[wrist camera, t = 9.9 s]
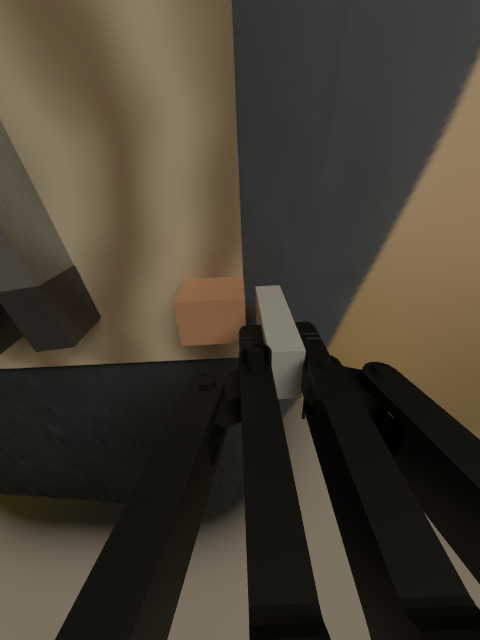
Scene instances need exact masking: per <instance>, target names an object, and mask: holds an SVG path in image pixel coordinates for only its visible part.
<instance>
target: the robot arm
mask: <svg viewBox="0 0 480 640" xmlns="http://www.w3.org/2000/svg"><path fill="white" fill-rule="evenodd" d="M301 390H302V393H303V396H304V402H303V411H302V419H305V415H306V418H307V421H308V425H309V428H310V432H311V435H312V438H313V442H314V445H315V448H316V452H317V456H318V459H319V462H320V465H321V469H322V473H323V476H324V479H325V483H326V486H327V489H328V493H329V496H330V500H331V503H332V507H333V510H334V513H335V517H336V520H337V524H338V527H339V531H340V534H341V537H342V541H343V544H344V547H345V551H346V554H347V558H348V561H349V565H350V568H351V571H352V575H353V577H354V582H355V585H356V589H357V592H358V595H359V598H360V602H361V605H362V609H363V612H364V615H365V619H366V623H367V626H368V629H369V633H370V637H371V640H480V609H479V608H478V607H477V606H476V605H475V603H474V601H473V600H472V599H471V597H470V595H469V593H468V591H467V590H466V588H465V586H464V584H463V582H462V580H461V579H460V577H459V575H458V573H457V572H456V570H455V568H454V566H453V564H452V563H451V561H450V559H449V557H448V555H447V554H446V552H445V550H444V548H443V546H442V545H441V543H440V541H439V539H438V537H437V536H436V534H435V532H434V530H433V528H432V527H431V525H430V523H429V521H428V520H427V517H428V518H429V519H430V520H431V522H432V523H433V524H434V526H435V527H436V528H437V530H438V531H439V532H440V533H441V535H442V536H443V537H444V539H445V540H446V541H447V543H448V544H449V545H450V546H451V548H452V549H453V550H454V552H455V553H456V554H457V555H458V557H459V558H460V559H461V561H462V562H463V563H464V565H465V566H466V567H467V568H468V570H469V571H470V572H471V574H472V575H473V576H474V577H475V579H476V580H477V581H478V582H479V584H480V439H478V438H477V437H476V436H475V435H473V434H472V433H471V432H470V431H469V430H468V429H466V428H465V427H464V426H463V425H461V424H460V423H459V422H458V421H457V420H456V419H454V418H453V417H452V416H451V415H450V414H448V413H447V412H446V411H445V410H444V409H443V408H441V407H440V406H439V405H438V404H436V403H435V402H434V401H433V400H432V399H430V398H429V397H428V396H427V395H426V394H424V393H423V392H422V391H421V390H420V389H419V388H417V387H416V386H415V385H414V384H413V383H411V382H410V381H409V380H408V379H407V378H405V377H404V376H403V375H402V374H401V373H400V372H398V371H397V370H396V369H394V368H393V367H391V366H390V365H387V364H384V363H380V362H369V363H367V364H365V365H364V367H363V370H359V369H354V368H349V367H344V366H342V364H341V363H340V361H339V360H338V359H337V358H335V357H333V356H331V355H329V353H328V351H327V349H326V347H325V345H324V343H323V341H322V340H321V339H320V336H319V334H318V332H317V330H316V328H315V326H313V325H312V324H311V323H309V322H294V320H293V318H292V315H291V313H290V310H289V308H288V305H287V303H286V300H285V298H284V295H283V293H282V290H281V288H280V285H278V286H259V287H256V325H248V326H242V327H241V329H240V330H239V366H238V368H237V369H236V370H235V371H234V372H233V373H231V374H228V375H226V376H221V375H219V374H218V373H215V372H212V371H211V372H203V373H199V374H198V375H196V376H195V377H194V378H193V379H192V380H191V381H190V383H189V385H188V387H187V389H186V391H185V393H184V395H183V397H182V399H181V400H180V402H179V404H178V406H177V408H176V410H175V412H174V414H173V416H172V418H171V420H170V421H169V423H168V425H167V427H166V429H165V431H164V433H163V435H162V437H161V439H160V440H159V442H158V444H157V446H156V448H155V450H154V452H153V454H152V456H151V458H150V460H149V461H148V463H147V465H146V467H145V469H144V471H143V473H142V475H141V477H140V479H139V481H138V482H137V484H136V486H135V488H134V490H133V492H132V494H131V496H130V498H129V500H128V501H127V503H126V505H125V507H124V509H123V511H122V513H121V515H120V517H119V519H118V521H117V522H116V524H115V526H114V528H113V530H112V532H111V534H110V536H109V538H108V540H107V542H106V543H105V545H104V547H103V549H102V551H101V553H100V555H99V557H98V559H97V561H96V563H95V564H94V566H93V568H92V570H91V572H90V574H89V576H88V578H87V580H86V582H85V583H84V585H83V587H82V589H81V591H80V593H79V595H78V597H77V599H76V601H75V602H74V605H73V606H72V608H71V610H70V612H69V614H68V616H67V618H66V620H65V622H64V624H63V625H62V627H61V629H60V631H59V633H58V635H57V637H56V639H55V640H167V638H168V635H169V631H170V628H171V624H172V621H173V618H174V614H175V610H176V607H177V604H178V600H179V597H180V593H181V590H182V586H183V583H184V579H185V576H186V572H187V569H188V565H189V562H190V559H191V555H192V552H193V548H194V545H195V541H196V537H197V534H198V531H199V527H200V524H201V520H202V517H203V513H204V510H205V506H206V503H207V499H208V496H209V493H210V489H211V486H212V482H213V479H214V475H215V472H216V468H217V465H218V461H219V458H220V454H221V451H222V447H223V444H224V440H225V437H226V433H227V430H228V426H231V425H234V424H236V423H239V422H242V443H243V469H244V495H245V520H246V548H247V573H248V597H249V598H248V600H249V631H250V632H249V637H250V640H331V639H330V636H329V634H328V631H327V629H326V626H325V624H324V621H323V617H322V614H321V610H320V606H319V601H318V596H317V591H316V586H315V581H314V576H313V571H312V566H311V561H310V556H309V551H308V546H307V541H306V536H305V531H304V526H303V521H302V516H301V511H300V506H299V501H298V496H297V491H296V487H295V481H294V476H293V471H292V466H291V461H290V457H289V451H288V446H287V442H286V436H285V431H284V426H283V421H282V416H281V411H280V406H279V401H278V399H290V398H301ZM388 412H389V413H390V414H391V415H392V416H393V417H392V416H391V415H390V414H389V413H388ZM423 511H424V512H423ZM424 513H425V514H426V515H427V517H426V516H425V514H424Z"/></svg>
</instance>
